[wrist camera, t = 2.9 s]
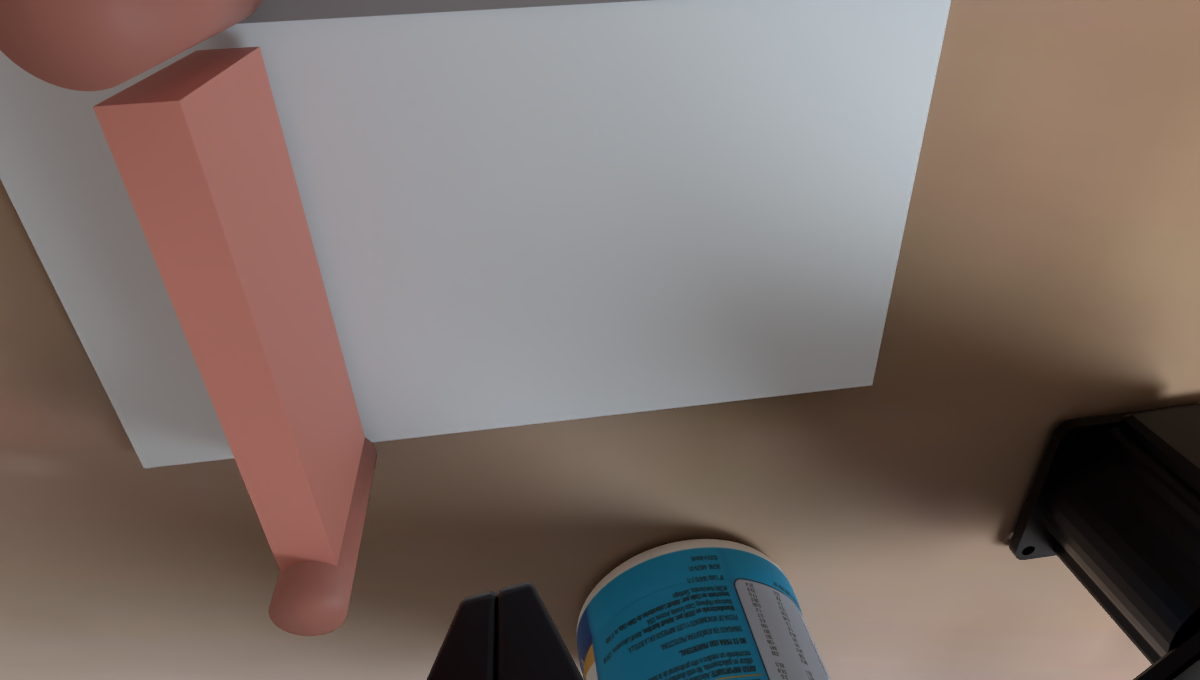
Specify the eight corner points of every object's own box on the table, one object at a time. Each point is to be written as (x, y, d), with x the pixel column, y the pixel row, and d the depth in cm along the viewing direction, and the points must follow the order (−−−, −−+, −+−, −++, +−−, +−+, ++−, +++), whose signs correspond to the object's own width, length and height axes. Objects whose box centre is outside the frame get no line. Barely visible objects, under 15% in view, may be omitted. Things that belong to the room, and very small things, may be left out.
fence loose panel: (185, 50, 14) (53, 120, 10) (270, 46, 14) (176, 112, 10) (324, 479, 20) (280, 640, 16) (381, 472, 20) (354, 629, 16)
